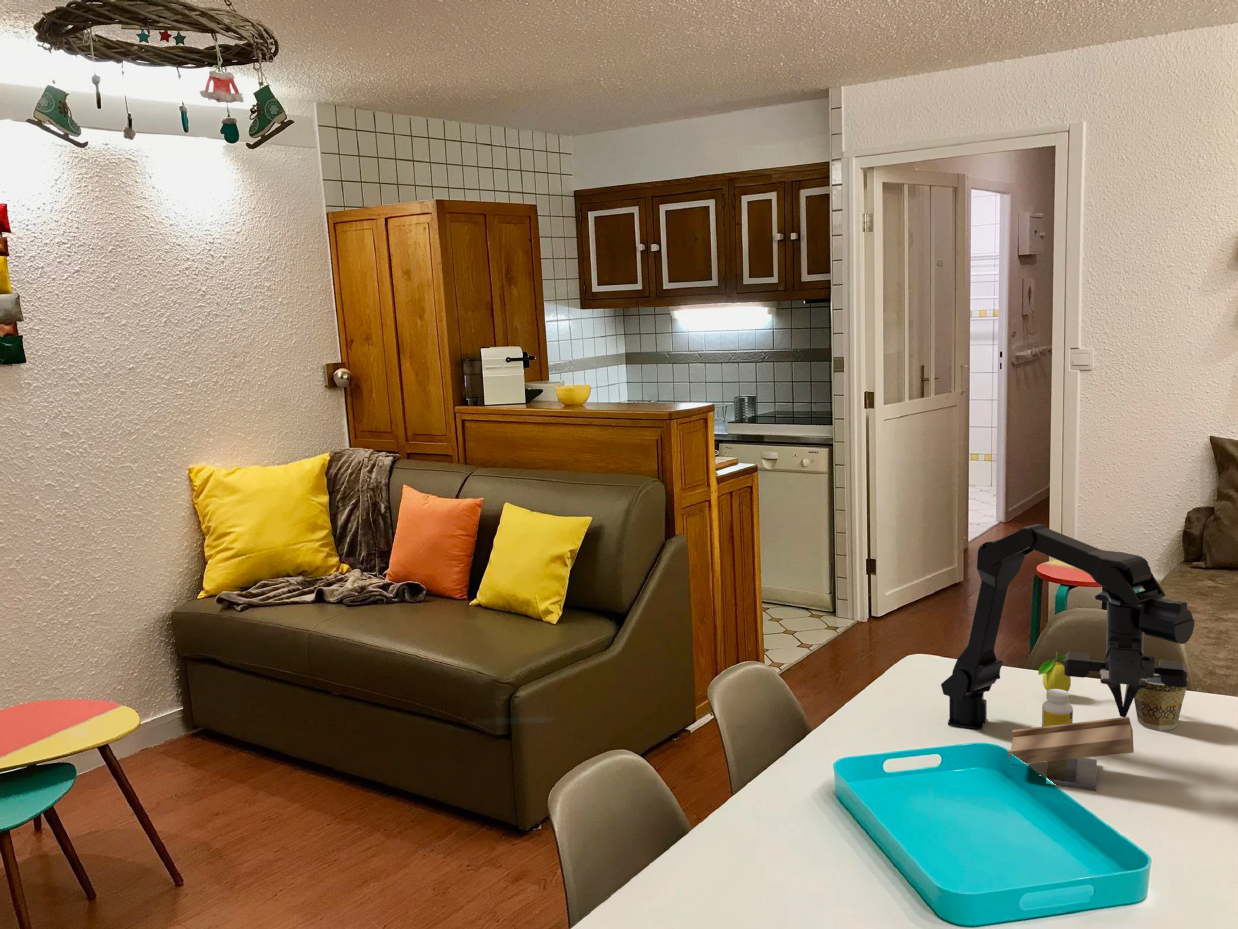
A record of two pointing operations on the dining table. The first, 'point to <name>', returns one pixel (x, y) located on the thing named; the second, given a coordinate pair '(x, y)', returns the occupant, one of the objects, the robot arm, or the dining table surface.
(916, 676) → the dining table surface
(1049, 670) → the lemon
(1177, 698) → the ceramic cup
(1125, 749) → the balance board
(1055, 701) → the supplement bottle
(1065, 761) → the board stand
